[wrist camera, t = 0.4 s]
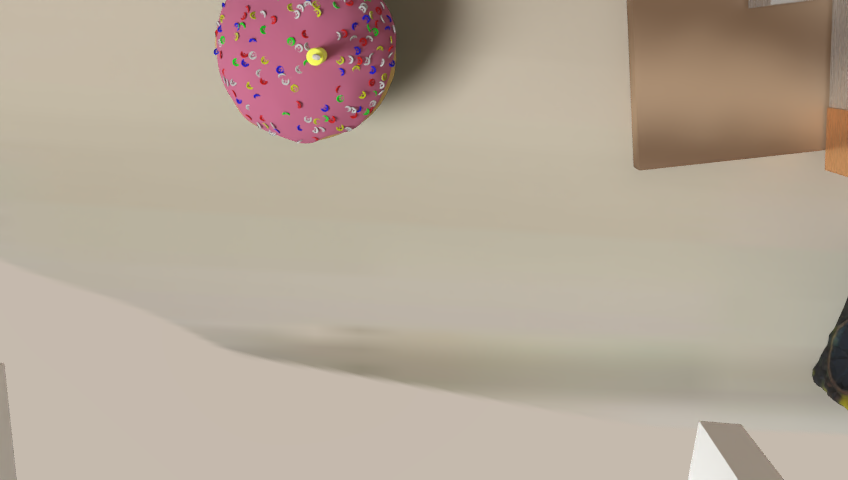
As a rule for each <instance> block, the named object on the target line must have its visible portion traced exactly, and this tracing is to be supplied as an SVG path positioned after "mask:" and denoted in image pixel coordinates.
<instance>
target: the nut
mask: <svg viewBox="0 0 848 480" xmlns="http://www.w3.org/2000/svg"><path fill="white" fill-rule="evenodd" d="M802 1H810V0H748V8H755V7H763V6H771V5H779V4H787V3H795V2H802ZM825 170H827V171H830V172H834V173H837V174H840V175H843V176H846V177H848V0H833V6H832V36H831V65H830V95H829V107H828V108H827V124H826V155H825Z"/></svg>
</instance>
